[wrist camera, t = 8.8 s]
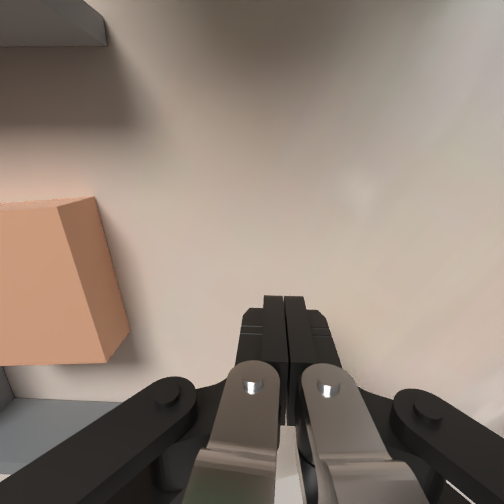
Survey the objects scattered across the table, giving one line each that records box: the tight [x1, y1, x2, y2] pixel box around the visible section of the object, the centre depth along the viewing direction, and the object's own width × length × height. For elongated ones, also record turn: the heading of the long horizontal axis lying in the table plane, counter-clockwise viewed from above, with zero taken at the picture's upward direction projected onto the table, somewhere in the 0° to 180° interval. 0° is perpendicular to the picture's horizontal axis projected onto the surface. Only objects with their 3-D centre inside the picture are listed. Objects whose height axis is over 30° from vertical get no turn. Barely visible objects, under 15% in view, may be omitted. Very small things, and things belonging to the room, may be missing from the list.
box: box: [0, 0, 121, 475], centre depth 13 cm, size 11×22×4 cm, turn 0°
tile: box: [0, 196, 130, 366], centre depth 14 cm, size 6×8×3 cm
